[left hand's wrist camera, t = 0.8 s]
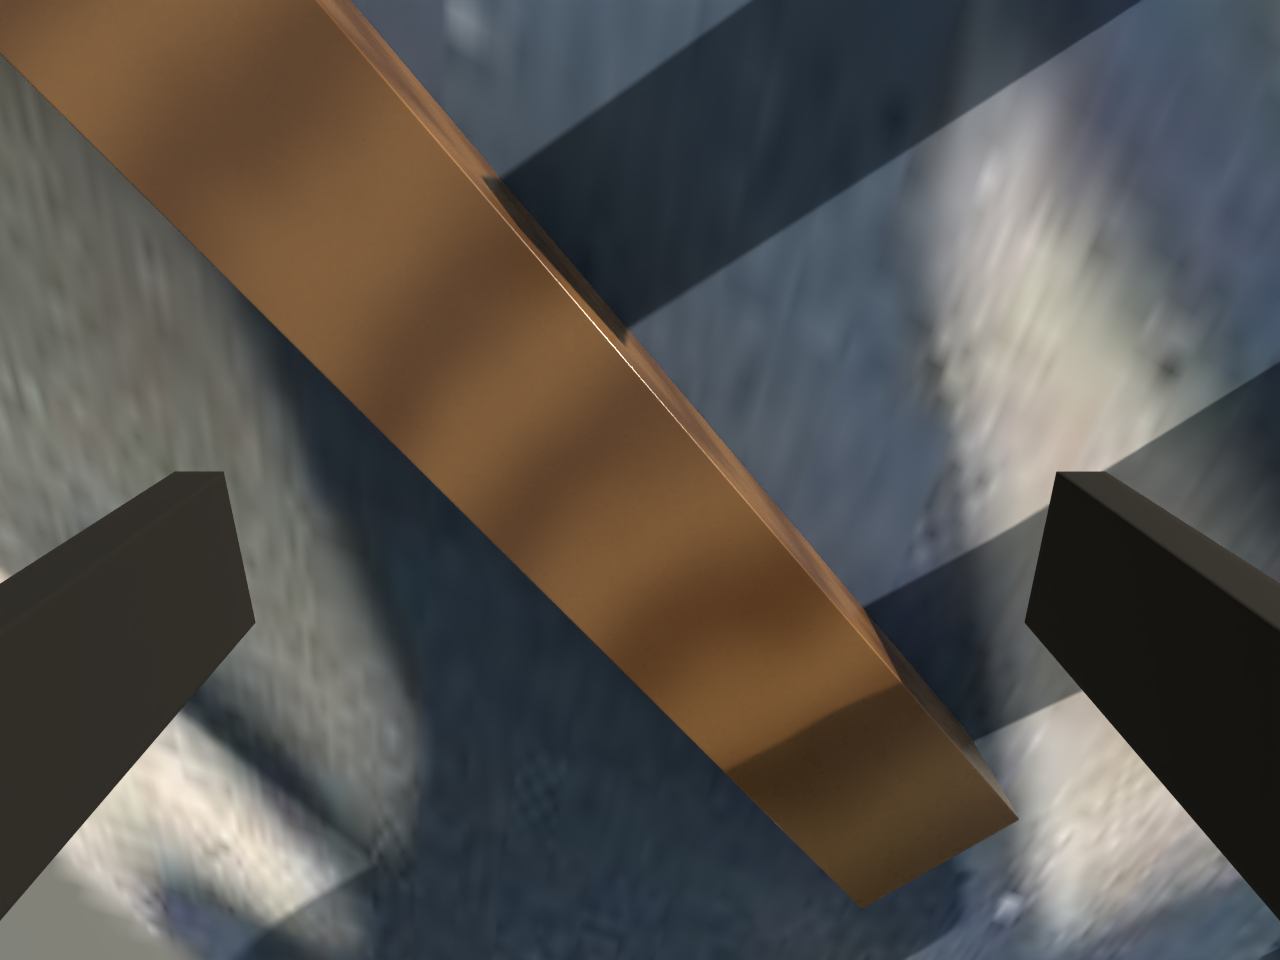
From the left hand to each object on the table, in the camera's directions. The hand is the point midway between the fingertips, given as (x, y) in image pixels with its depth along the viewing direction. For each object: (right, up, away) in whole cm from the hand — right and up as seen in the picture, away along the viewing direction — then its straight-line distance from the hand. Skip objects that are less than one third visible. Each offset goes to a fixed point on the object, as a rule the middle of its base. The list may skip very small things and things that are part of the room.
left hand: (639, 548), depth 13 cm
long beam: (-8, +10, +23) cm, 27 cm away
